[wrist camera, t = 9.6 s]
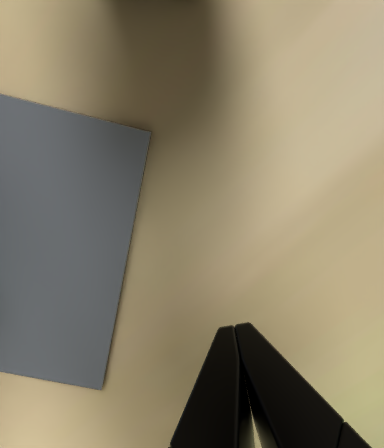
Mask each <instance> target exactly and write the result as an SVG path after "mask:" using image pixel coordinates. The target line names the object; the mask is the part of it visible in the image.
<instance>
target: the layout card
mask: <svg viewBox="0 0 384 448" xmlns="http://www.w3.org/2000/svg"><path fill="white" fill-rule="evenodd" d="M150 137H151V132H150V131H146V130H142V129H138V128H134V127H130V126H126V125H122V124H118V123H114V122H110V121H106V120H102V119H99V118H95V117H91V116H87V115H83V114H79V113H75V112H71V111H67V110H63V109H59V108H55V107H51V106H47V105H44V104H40V103H36V102H32V101H28V100H24V99H20V98H16V97H12V96H8V95H4V94H0V372H5V373H10V374H16V375H21V376H27V377H32V378H38V379H43V380H48V381H54V382H59V383H65V384H70V385H76V386H81V387H86V388H92V389H97V390H102V387H103V383H104V377H105V372H106V367H107V362H108V356H109V351H110V346H111V341H112V336H113V330H114V325H115V320H116V315H117V309H118V304H119V299H120V294H121V289H122V283H123V278H124V273H125V268H126V262H127V257H128V252H129V247H130V242H131V236H132V231H133V226H134V221H135V215H136V210H137V205H138V200H139V195H140V189H141V184H142V179H143V174H144V168H145V163H146V158H147V153H148V148H149V142H150Z"/></svg>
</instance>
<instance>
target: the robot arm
mask: <svg viewBox="0 0 384 448" xmlns="http://www.w3.org/2000/svg"><path fill="white" fill-rule="evenodd" d="M235 331H236V332H235ZM236 336H237V337H236ZM246 387H247V388H246ZM247 392H248V393H247ZM248 397H249V398H248ZM249 402H250V403H249ZM250 407H251V408H250ZM251 411H252V414H251ZM252 416H253V419H254V423H255V426H256V430H257V433H258V436H259V439H260V442H261V446H262V448H372V447H371V446H370V445H369V444H368V443H367V442H366V441H365V440H363V439H362V437H361V436H360V435H359V434H358V433H357V432H356V431H355V430H354V429H353V428H352V427H351V426H350V425H349V424H348V423H347V422H344V420H343V418H342V417H341V416H340V415H339V414H338V413H337V412H336V411H335V410H334V409H333V408H332V407H331V406H330V405H329V404H328V403H327V401H326V400H325V399H324V398H323V397H322V396H321V395H320V394H319V393H318V392H317V391H316V390H315V389H314V388H313V387H312V386H311V385H310V384H309V383H308V382H307V381H306V380H305V379H304V378H303V377H302V376H301V375H300V374H299V372H298V371H297V370H296V369H295V368H294V367H293V366H292V365H291V364H290V363H289V362H288V361H287V360H286V359H285V358H284V357H283V356H282V355H281V354H280V353H279V352H278V351H277V350H276V349H275V348H274V347H273V346H272V345H271V344H270V342H269V341H268V340H267V339H266V338H265V337H264V336H263V335H262V334H261V333H260V332H259V331H258V330H257V329H256V328H255V327H254V326H253V325H252V324H251V323H249V322H247V323H241V324H236V325H235V327H234V326H233V325H230V326H224V327H220V328H218V330H217V333H216V335H215V337H214V340H213V342H212V344H211V347H210V349H209V352H208V354H207V356H206V359H205V361H204V363H203V366H202V368H201V371H200V373H199V375H198V378H197V380H196V383H195V385H194V387H193V390H192V392H191V394H190V397H189V399H188V402H187V404H186V406H185V409H184V411H183V413H182V416H181V418H180V421H179V423H178V425H177V428H176V430H175V432H174V435H173V437H172V440H171V442H170V447H168V448H255V444H254V432H253V422H252Z"/></svg>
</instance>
